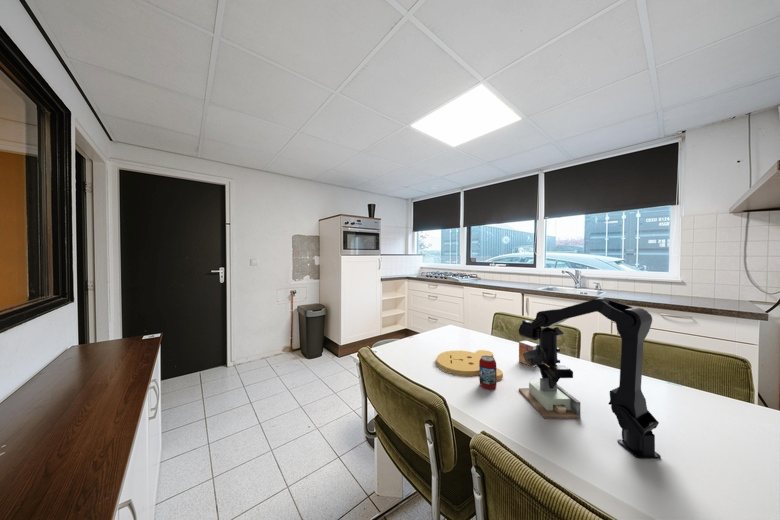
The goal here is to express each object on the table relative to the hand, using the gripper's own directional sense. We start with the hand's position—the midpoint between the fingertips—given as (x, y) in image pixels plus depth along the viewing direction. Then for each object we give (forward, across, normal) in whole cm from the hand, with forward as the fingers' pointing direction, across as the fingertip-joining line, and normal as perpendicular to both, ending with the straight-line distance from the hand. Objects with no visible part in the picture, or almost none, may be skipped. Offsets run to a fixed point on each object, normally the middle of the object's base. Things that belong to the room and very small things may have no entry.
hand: (548, 385), depth 95 cm
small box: (+7, -35, +11) cm, 37 cm away
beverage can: (+7, -13, -18) cm, 23 cm away
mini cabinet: (+6, 0, 0) cm, 6 cm away
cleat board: (+7, 0, -1) cm, 7 cm away
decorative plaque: (+7, -35, -21) cm, 41 cm away
